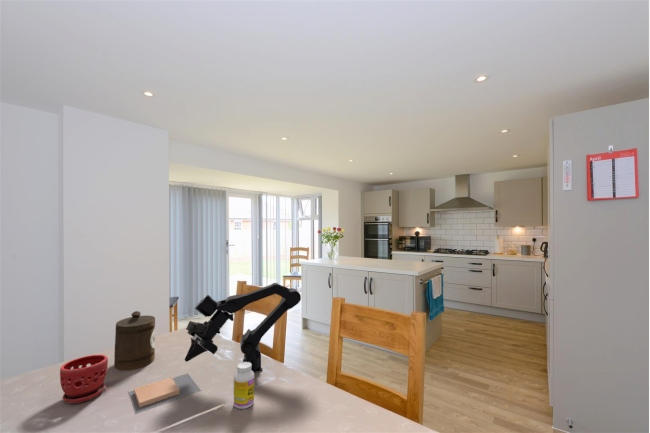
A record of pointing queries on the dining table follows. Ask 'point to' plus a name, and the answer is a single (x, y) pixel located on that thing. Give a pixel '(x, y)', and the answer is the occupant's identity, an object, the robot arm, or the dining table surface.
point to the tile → (156, 391)
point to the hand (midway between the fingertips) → (185, 360)
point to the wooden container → (134, 342)
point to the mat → (185, 389)
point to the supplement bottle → (244, 386)
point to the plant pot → (83, 378)
